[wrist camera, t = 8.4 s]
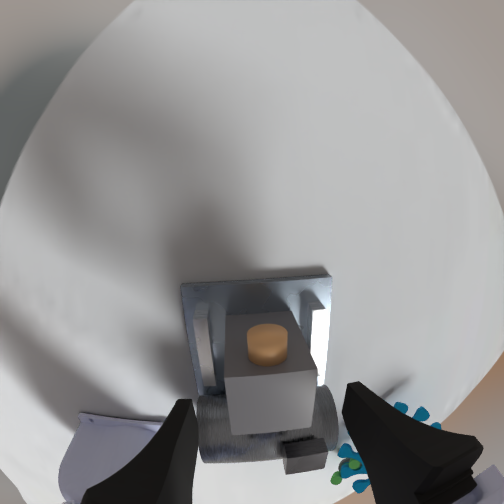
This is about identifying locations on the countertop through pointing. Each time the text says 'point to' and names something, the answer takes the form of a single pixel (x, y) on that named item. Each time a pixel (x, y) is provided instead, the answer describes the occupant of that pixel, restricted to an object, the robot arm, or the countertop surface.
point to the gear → (354, 461)
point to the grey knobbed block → (268, 373)
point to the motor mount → (212, 367)
